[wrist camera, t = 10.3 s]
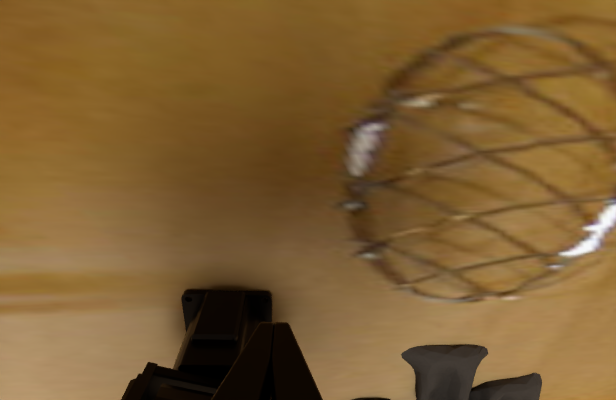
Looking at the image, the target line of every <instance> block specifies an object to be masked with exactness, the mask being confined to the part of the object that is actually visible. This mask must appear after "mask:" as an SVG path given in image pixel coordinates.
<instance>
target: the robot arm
mask: <svg viewBox="0 0 616 400" xmlns="http://www.w3.org/2000/svg"><path fill="white" fill-rule="evenodd" d="M188 297H191V298H188ZM263 298H267V299H263ZM182 306H183V313H184V319H185V326H186V335H185V338H184V340H183V343H182V345H181V348H180V351H179V353H178V356H177V359H176V361H175V364H174V367H173V369H171V368H166V367H161V366H157V365H158V364H156V363H151V362H148V363H147V365H146V367H145V369H144V371H143V373H142V374H138V376H137V378H136V379H133V380H131V381H130V383H129V385H128V387H127V389H126V391H125V393H124V395H123V397H122V399H121V400H323V399H322V397H321V395H320V392H319V390H318V388H317V386H316V383H315V381H314V379H313V377H312V374H311V372H310V370H309V368H308V365H307V363H306V361H305V359H304V356H303V354H302V352H301V350H300V347H299V345H298V343H297V341H296V339H295V336H294V334H293V332H292V330H291V327H290V325H289V324H288V323H287V322H276V323H275V324H274V323H273V322H272V295H271V293H269V292H266V291H211V290H187V291H185V292H184V293H183V295H182Z"/></svg>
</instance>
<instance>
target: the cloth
mask: <svg viewBox="0 0 616 400" xmlns="http://www.w3.org/2000/svg"><path fill="white" fill-rule="evenodd" d="M401 355H402V358H403V359H404V360H405V361H407V362H408V363H409V364H410V365H411V366H412V367H413V369H414V372H415V376H416V384H415V389H416V398H417V399H416V400H539V397H540V391H541V386H542V380H541V376H540V374H537V373H532V374H530V375H525V376H521V377H518V378H510V379H502V380H496V381H490V382H486V383H483V384H481V385H479V386H477V387H476V388H475V389H473V390H471V388H472V384H473V380H474V376H475V372H476V369H477V367H478V365H479V364H480V362H481V360H482V359H483V358H484V357H485V356H486V355H488V351H487V349H486V348H485V347H482V346H478V345H456V346H448V345H439V346H428V345H426V346H417V347H413V348H410V349H408V350H407V351H405V352H403V353H402V354H401ZM354 400H365V399H354ZM382 400H390V399H382Z"/></svg>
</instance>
